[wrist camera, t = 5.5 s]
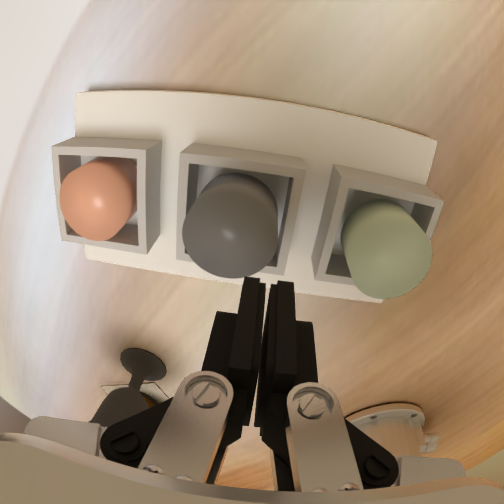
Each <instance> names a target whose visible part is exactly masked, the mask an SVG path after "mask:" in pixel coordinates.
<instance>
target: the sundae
mask: <svg viewBox="0 0 504 504" xmlns="http://www.w3.org/2000/svg"><path fill="white" fill-rule="evenodd" d="M120 360H121V363H122V365H123V366H124V367H125V369H126V370H127V371H129V372H130V373H131V374H132V377H131V381H130V383H129V386H128V387H122V388H118V389H115V390H112V391H111V392H110V393H109V394H108V396H107V397H106V398H105V399H104V401H103V402H102V404H101V405H100V407H99V409H98V410H97V412H96V414H95V415H94V417H93V418H92V420H91V421H89V423H99V425H100V426H102V427H110V426H111V425H113V424H115V423H117V422H119V421H122V420H124V419H126V418H129V417H131V416H133V415H135V414H138V413H140V412H142V411H144V410H146V409H149V407H148V405H147V403H146V401H145V399H144V397H143V396H142V395H141V393H140V388H141V385H142V383H143V381H144V380H149V381H156V380H160V379H162V378H163V377H164V376H165V374H166V368H165V365H164V364H163V363H162V361H161V360H160V359H159V358H158V357H156V356H155V355H153V354H152V353H150V352H147V351H145V350H142V349H135V348H132V349H127V350H125V351H123V352H122V353H121V357H120Z"/></svg>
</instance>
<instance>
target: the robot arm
mask: <svg viewBox="0 0 504 504" xmlns="http://www.w3.org/2000/svg"><path fill="white" fill-rule="evenodd" d="M265 291H266V283H261V282H260V278H255V277H247V276H244V281H243V287H242V292H241V298H240V303H239V309H238V314H235V313H227V312H220V311H217V312H216V316H215V319H214V323H213V327H212V331H211V335H210V339H209V343H208V347H207V351H206V354H205V358H204V362H203V366H202V370H201V371H199V372H195V373H192V374H190V375H189V376H187V377H186V378H184V380H183V381H182V382H181V384H180V386H179V388H178V390H177V392H176V394H175V396H174V397H172V398H170V399H168V400H166V401H164V402H161V403H159V404H157V405H155V406H153V407H151V408H149V409H146V410H144V411H142V412H140V413H138V414H135V415H133V416H131V417H129V418H126V419H124V420H122V421H119V422H117V423H115V424H113V425H111V426H110V427H102V426H100V425H99V423H89V422H80V421H72V420H65V419H58V418H52V417H46V416H40V417H36V418H34V419H32V420H31V421H30V422H29V423H28V424H27V426H26V429H25V431H24V434H19V433H0V504H504V486H503V485H501V484H500V483H497V482H495V481H492V480H488V479H483V478H475V477H466V473H465V469H464V467H463V466H462V464H461V463H459V462H458V461H457V460H453V459H443V458H429V457H421V453H428V452H434V451H435V450H436V448H437V441H438V440H439V434H438V433H429V434H424V433H423V430H422V427H423V425H424V423H425V417H424V413H423V411H422V410H421V408H419V407H418V406H415V405H412V404H406V403H393V404H386V405H380V406H376V407H372V408H369V409H365V410H362V411H360V412H357V413H355V414H353V415H351V416H349V417H346V418H344V417H343V414H342V410H341V407H340V404H339V400H338V398H337V396H336V394H335V393H334V392H333V391H332V390H331V389H330V388H328V387H326V386H325V385H322V384H319V383H318V376H317V364H316V353H315V342H314V332H313V324H312V322H305V321H296V316H295V294H294V282H289V281H280V280H278V281H277V284H271V286H270V293H269V299H268V305H267V312H266V318H265V324H264V330H263V336H262V329H263V317H264V304H265ZM261 342H262V343H261ZM258 373H259V376H258ZM257 379H258V388H257V399H256V410H255V421H254V427H260V436H262V441H263V442H264V443H265V444H266V445H267V446H268V447H269V448H270V458H271V466H272V475H273V483H274V491H268V490H255V489H244V488H235V487H227V486H219V485H216V482H217V479H218V476H219V473H220V471H221V468H222V465H223V462H224V459H225V456H226V453H227V450H228V445H230V444H232V443H233V442H235V441H236V440H238V439H240V438H241V433H242V426H249V422H250V417H251V412H252V406H253V401H254V396H255V390H256V385H257Z"/></svg>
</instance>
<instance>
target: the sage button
mask: <svg viewBox="0 0 504 504" xmlns="http://www.w3.org/2000/svg"><path fill="white" fill-rule="evenodd" d="M340 240H341V246H342V250H343V252H344V255H345V258H346V261H347V264H348V267H349V270H350V274H351V277H352V279H353V282H354V284H355V286H356V287H357V288H358V289H359V290H360V291H361V292H362V293H364V294H365V295H367V296H369V297H372V298H376V299H391V298H396V297H399V296H402V295H404V294H406V293H408V292H409V291H411V290H412V289H414V288H415V287H416V286H417V285H418V284H419V283H420V282H421V281H422V280H423V279H424V277H425V276H426V274H427V272H428V270H429V268H430V265H431V262H432V246H431V243H430V240H429V238H428V237H427V235H426V234H425V233H424V231H423V230H422V229H421V228H420V226H419V225H418V224H417V223H416V222H415V220H414V219H413V218H412V217H411V216H410V215H409V213H408V212H407V211H406V210H405V209H404V208H403V207H402V206H401V205H399V204H398V203H396V202H394V201H391V200H386V199H376V200H371V201H368V202H365V203H363V204H361V205H360V206H358V207H357V208H355V209H354V210H353V211H352V212H351V213H350V214H349V216H348V217H347V219H346V220H345V222H344V224H343V227H342V230H341V237H340Z"/></svg>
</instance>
